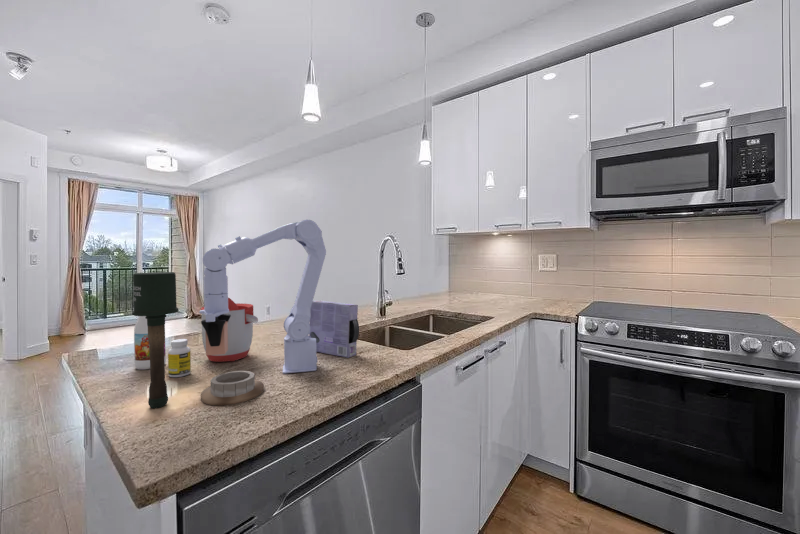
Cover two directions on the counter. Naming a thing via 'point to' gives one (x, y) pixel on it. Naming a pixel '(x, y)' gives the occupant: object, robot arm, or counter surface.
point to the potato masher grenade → (155, 324)
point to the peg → (223, 344)
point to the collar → (232, 388)
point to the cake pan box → (334, 327)
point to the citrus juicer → (235, 332)
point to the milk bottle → (142, 345)
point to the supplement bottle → (179, 358)
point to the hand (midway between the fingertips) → (217, 343)
